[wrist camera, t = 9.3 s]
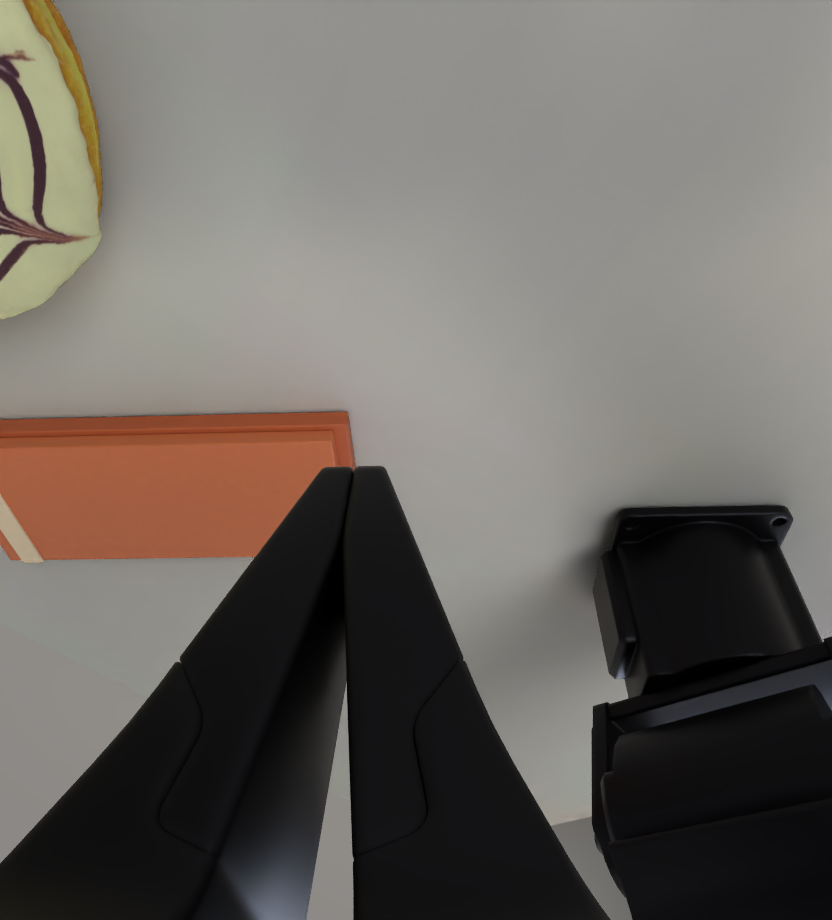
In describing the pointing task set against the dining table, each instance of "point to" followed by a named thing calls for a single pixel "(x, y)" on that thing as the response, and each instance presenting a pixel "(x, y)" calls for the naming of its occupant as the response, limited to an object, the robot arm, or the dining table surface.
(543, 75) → the dining table surface
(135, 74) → the dining table surface
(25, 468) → the orange flat bar
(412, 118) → the dining table surface
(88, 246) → the decorated donut
